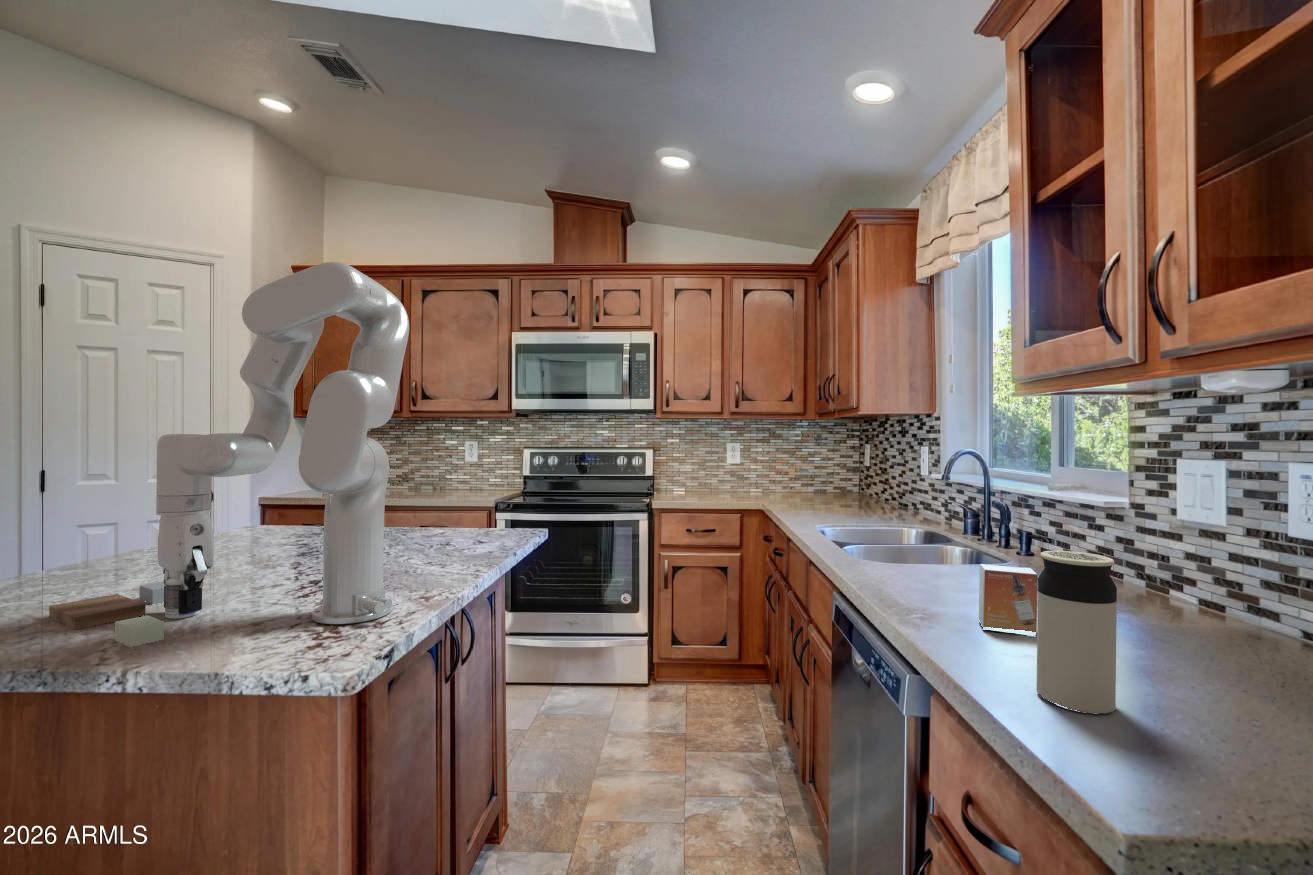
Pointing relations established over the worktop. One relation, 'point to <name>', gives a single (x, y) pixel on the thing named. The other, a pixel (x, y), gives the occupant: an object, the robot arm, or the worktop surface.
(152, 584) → the grey brick
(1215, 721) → the worktop surface
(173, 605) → the pill bottle
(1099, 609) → the travel mug
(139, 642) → the sage brick
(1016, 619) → the small box
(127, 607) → the walnut block
